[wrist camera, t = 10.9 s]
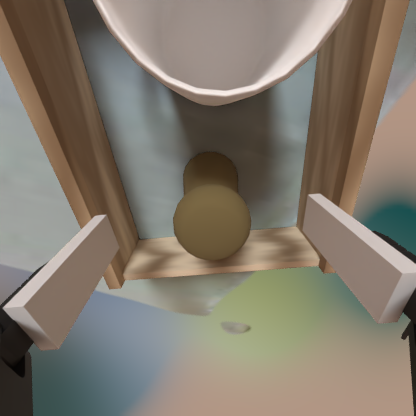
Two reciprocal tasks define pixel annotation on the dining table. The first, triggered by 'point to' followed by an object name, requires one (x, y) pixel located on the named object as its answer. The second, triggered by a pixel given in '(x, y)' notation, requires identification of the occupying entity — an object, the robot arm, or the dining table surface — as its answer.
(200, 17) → the mug
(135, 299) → the dining table surface
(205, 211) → the cork
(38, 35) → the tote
